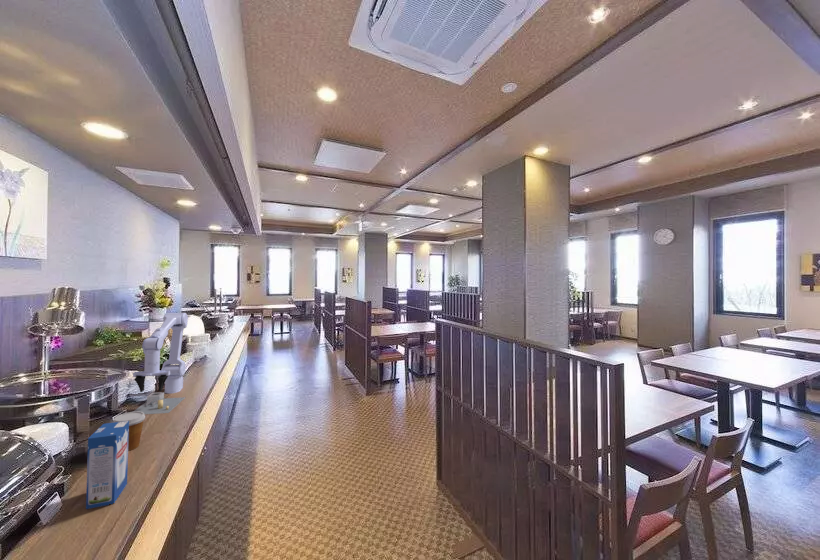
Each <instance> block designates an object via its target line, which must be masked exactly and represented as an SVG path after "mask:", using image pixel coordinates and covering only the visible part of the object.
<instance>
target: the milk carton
mask: <svg viewBox="0 0 820 560" xmlns="http://www.w3.org/2000/svg"><path fill="white" fill-rule="evenodd" d="M128 439H129V421H123V422H114V423H112V422H106V423H103V424H101V426H99V427H98V429H96V430H95V431H94V432H93V433H92V434H91V435H90V436H89V437H88V438H87V457H86V458H87V461H86V463H87V464H86V465H87V467H86V492H85V493H86V495H85V509H86V510H89V509H93V508H100V507H105V506H109V504H111V505H114V504H115V503H116V502H115V501H117V500H118V499H119V497H120V496H119V495H121V494H122V493H123V491H124V489H125V488H126V487H127V485H128V468H129V467H128V466H129V465H128V464H129V463H128V462H129V451H128ZM117 498H118V499H117ZM113 503H114V504H113Z"/></svg>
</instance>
